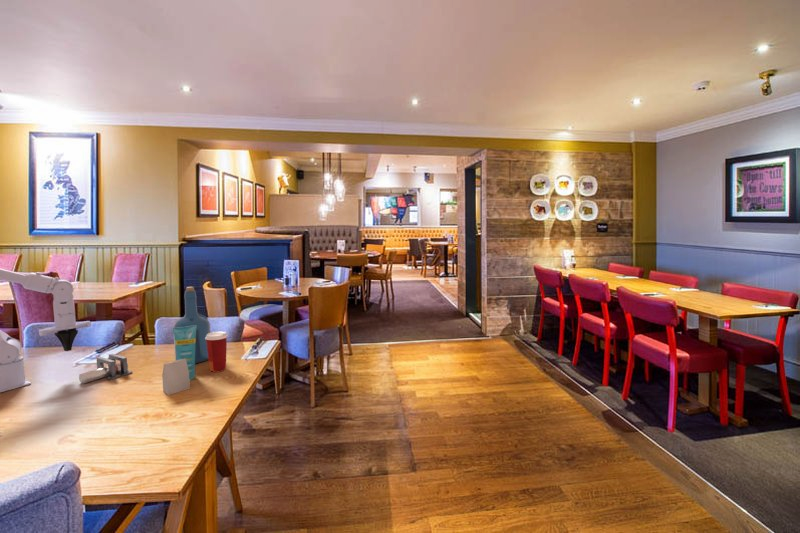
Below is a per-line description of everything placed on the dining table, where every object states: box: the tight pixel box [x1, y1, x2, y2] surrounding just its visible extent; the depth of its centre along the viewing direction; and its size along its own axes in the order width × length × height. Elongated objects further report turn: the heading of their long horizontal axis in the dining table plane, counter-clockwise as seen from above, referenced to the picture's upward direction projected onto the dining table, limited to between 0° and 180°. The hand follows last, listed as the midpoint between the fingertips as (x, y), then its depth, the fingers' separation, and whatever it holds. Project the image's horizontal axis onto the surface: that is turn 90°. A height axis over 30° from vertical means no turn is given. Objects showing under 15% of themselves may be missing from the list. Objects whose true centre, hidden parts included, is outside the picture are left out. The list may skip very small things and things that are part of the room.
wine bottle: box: [173, 286, 211, 364], centre depth 158 cm, size 14×13×30 cm
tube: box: [172, 325, 197, 381], centre depth 139 cm, size 7×5×19 cm, turn 123°
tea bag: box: [162, 359, 191, 396], centre depth 129 cm, size 4×7×10 cm, turn 142°
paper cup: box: [205, 330, 228, 373], centre depth 148 cm, size 8×8×14 cm
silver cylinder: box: [78, 362, 129, 385], centre depth 140 cm, size 14×4×4 cm, turn 153°
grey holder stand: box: [95, 356, 122, 381], centre depth 141 cm, size 4×11×6 cm, turn 63°
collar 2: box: [108, 353, 133, 377], centre depth 145 cm, size 4×11×6 cm, turn 63°
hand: (67, 350), depth 141 cm, fingers closed
